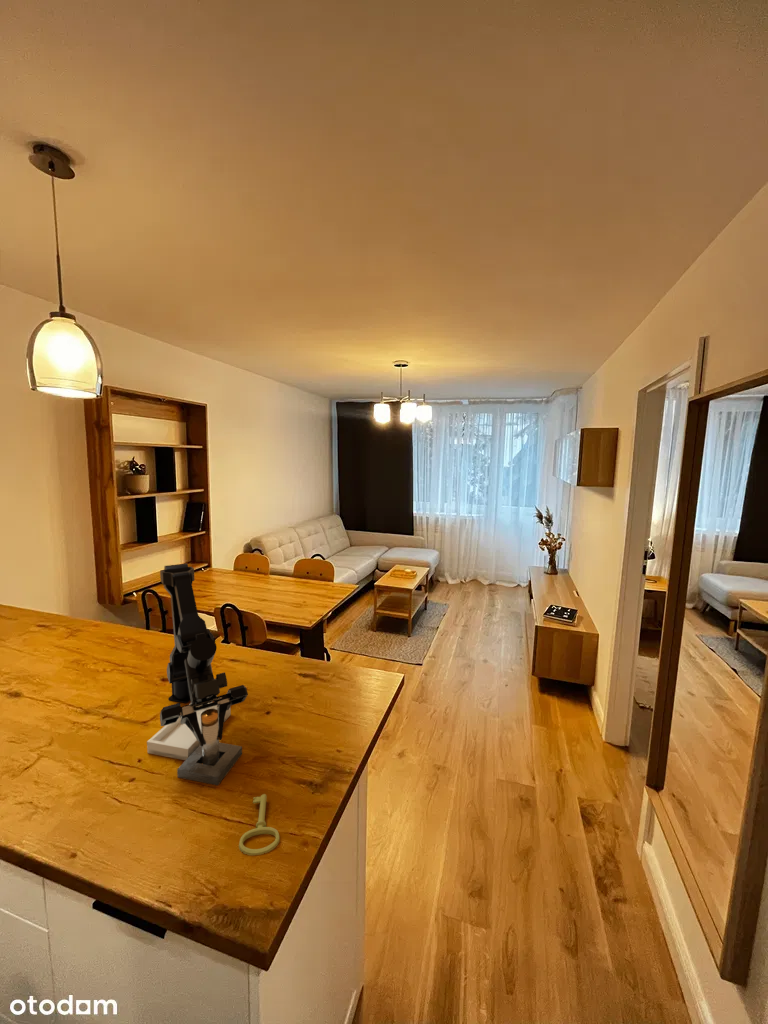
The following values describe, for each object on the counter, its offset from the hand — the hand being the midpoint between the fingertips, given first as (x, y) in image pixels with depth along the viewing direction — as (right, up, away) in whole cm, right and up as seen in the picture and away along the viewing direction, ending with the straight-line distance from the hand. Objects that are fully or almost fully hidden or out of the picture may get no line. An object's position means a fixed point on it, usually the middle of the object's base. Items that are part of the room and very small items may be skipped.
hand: (211, 742), depth 96 cm
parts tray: (-10, -5, +13) cm, 17 cm away
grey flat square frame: (-1, -6, +2) cm, 7 cm away
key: (+15, -10, -14) cm, 23 cm away
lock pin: (-1, -6, +2) cm, 7 cm away
